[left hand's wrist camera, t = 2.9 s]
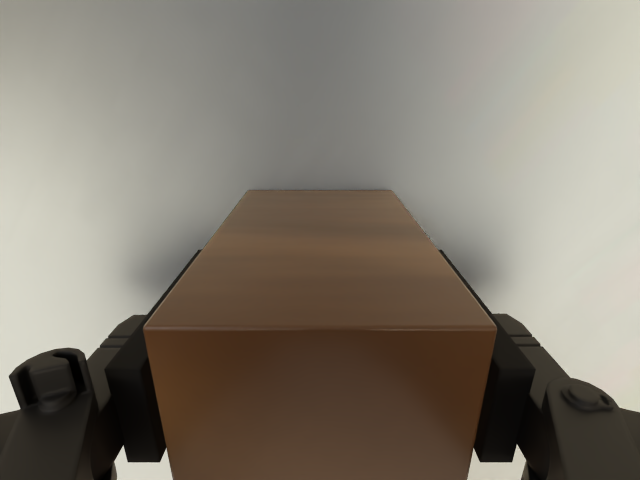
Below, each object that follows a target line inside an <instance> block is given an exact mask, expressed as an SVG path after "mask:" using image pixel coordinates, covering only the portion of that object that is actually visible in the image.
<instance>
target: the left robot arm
mask: <svg viewBox="0 0 640 480" xmlns="http://www.w3.org/2000/svg"><path fill="white" fill-rule="evenodd" d="M201 251H202V250H198V251H197V253H196V254H195V255H194V256H193V258H192V259H191V260H190V261H189V263H188V264H187V265H186V266H185V268H184V269H183V270H182V272H181V273H180V274H179V275H178V277H177V278H176V279H175V280H174V282H173V283H172V284H171V285H170V287H169V288H168V289H167V290H166V292H165V293H164V294H163V295H162V297H161V298H160V299H159V301H158V302H157V303H156V304H155V306H154V307H153V308H152V309H151V311H150V312H149V313H148V314H147V315H133V316H131V317H130V318H128V319H127V320H125V321H124V322H122V323H120V324H119V325H118V326H117V327H116V328H115V329H114V330H113V331H112V333H111V334H110V335H109V336H108V338H106V339H105V340H104V342H103V343H102V344H101V345H100V348H97V349H96V351H95V352H94V353H93V354H92V355H91V356H90V357H89V359H88V360H87V361H86V358H85V354H84V353H83V352H82V351H80V350H79V349H74V348H61V349H54V350H51V351H47V352H44V353H41V354H39V355H36V356H34V357H32V358H30V359H28V360H26V361H25V362H24V363H22V364H21V365H19V366H18V367H16V368H15V370H14V371H13V372H12V373H11V374H10V376H9V379H10V381H11V384H12V387H13V389H14V392H15V395H16V397H17V400H18V403H19V405H20V408H21V409H20V410H17V411H12V412H8V413H4V414H0V480H117V473H116V467H115V463H114V461H115V459H116V457H117V455H118V453H119V452H120V450H121V448H122V446H123V445H124V449H125V453H126V456H127V460H128V462H160V461H161V459H162V456H163V454H164V452H165V449H166V442H165V437H164V432H163V427H162V422H161V417H160V412H159V407H158V402H157V397H156V392H155V388H154V383H153V378H152V373H151V368H150V363H149V358H148V353H147V348H146V343H145V338H144V333H143V327H144V325H145V324H146V322H147V321H148V320H149V318H150V317H151V316H152V315H153V313H154V312H155V311H156V309H157V308H158V307H159V305H160V304H161V303H162V302H163V300H164V299H165V298H166V296H167V295H168V294H169V292H170V291H171V290H172V289H173V287H174V286H175V285H176V283H177V282H178V281H179V279H180V278H181V277H182V276H183V274H184V273H185V272H186V270H187V269H188V268H189V266H190V265H191V264H192V263H193V261H194V260H195V259H196V257H197V256H198V255H199V253H200V252H201ZM438 251H439V252H440V253H441V255H442V256H443V257H444V259H445V260H446V261H447V262H448V264H449V265H450V266H451V268H452V269H453V270H454V272H455V273H456V274H457V275H458V277H459V278H460V279H461V281H462V282H463V283H464V285H465V286H466V287H467V288H468V290H469V291H470V292H471V294H472V295H473V296H474V298H475V299H476V300H477V301H478V303H479V304H480V305H481V307H482V308H483V309H484V311H485V312H486V313H487V314H488V316H489V317H490V318H491V320H492V321H493V322H494V324H495V325H496V327H497V333H496V338H495V343H494V348H493V353H492V358H491V363H490V368H489V373H488V378H487V383H486V388H485V393H484V398H483V403H482V408H481V413H480V418H479V423H478V428H477V433H476V438H475V443H474V449H475V452H476V454H477V456H478V459H479V461H480V462H512V460H513V457H514V453H515V449H516V445H517V444H518V446H519V448H520V450H521V452H522V453H523V455H524V457H525V459H526V463H525V467H524V471H523V474H522V478H521V480H640V413H639V412H635V411H630V410H626V409H622V408H619V407H618V405H617V404H616V402H615V401H614V400H613V399H612V398H611V397H610V396H609V395H608V394H606V393H605V392H604V391H603V390H601V389H599V388H597V387H595V386H593V385H592V384H590V383H587V382H584V381H581V380H578V379H574V378H570V377H569V376H568V375H567V374H566V372H565V371H564V370H563V369H562V368H561V367H560V366H559V365H558V363H557V362H556V361H555V360H554V359H553V358H552V357H551V356H550V355H549V353H548V352H547V351H546V350H545V349H544V348H543V347H541V346H540V343H539V342H538V341H537V340H536V339H535V338H534V337H532V334H531V333H530V332H529V331H528V330H527V329H526V328H525V326H524V325H523V324H522V323H520V322H519V321H517V320H515V319H514V318H512V317H511V316H509V315H508V314H492V313H491V312H490V311H489V309H488V308H487V307H486V306H485V304H484V303H483V302H482V301H481V299H480V298H479V297H478V295H477V294H476V293H475V292H474V290H473V289H472V288H471V287H470V285H469V284H468V283H467V282H466V280H465V279H464V278H463V277H462V275H461V274H460V273H459V272H458V270H457V269H456V268H455V266H454V265H453V264H452V263H451V261H450V260H449V259H448V258H447V256H446V255H445V254H444V253H443V251H442V250H438Z"/></svg>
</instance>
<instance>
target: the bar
mask: <svg viewBox="0 0 640 480" xmlns="http://www.w3.org/2000/svg"><path fill="white" fill-rule="evenodd" d="M143 333H144V338H145V343H146V348H147V353H148V358H149V363H150V368H151V373H152V378H153V383H154V388H155V392H156V397H157V402H158V407H159V412H160V417H161V422H162V427H163V432H164V437H165V442H166V447H167V452H168V457H169V462H170V467H171V472H172V477H173V480H467V477H468V472H469V467H470V462H471V457H472V452H473V448H474V443H475V438H476V433H477V428H478V423H479V418H480V413H481V408H482V403H483V398H484V393H485V388H486V383H487V378H488V373H489V368H490V363H491V358H492V353H493V348H494V343H495V338H496V333H497V327H496V325H495V324H494V322H493V321H492V320H491V318H490V317H489V316H488V314H487V313H486V312H485V311H484V309H483V308H482V307H481V305H480V304H479V303H478V301H477V300H476V299H475V298H474V296H473V295H472V294H471V292H470V291H469V290H468V288H467V287H466V286H465V285H464V283H463V282H462V281H461V279H460V278H459V277H458V275H457V274H456V273H455V272H454V270H453V269H452V268H451V266H450V265H449V264H448V262H447V261H446V260H445V259H444V257H443V256H442V255H441V253H440V252H439V251H438V249H437V248H436V247H435V246H434V244H433V243H432V242H431V240H430V239H429V238H428V236H427V235H426V234H425V233H424V231H423V230H422V229H421V227H420V226H419V225H418V223H417V222H416V221H415V220H414V218H413V217H412V216H411V214H410V213H409V212H408V210H407V209H406V208H405V207H404V205H403V204H402V203H401V201H400V200H399V199H398V197H397V196H396V195H395V194H394V192H393V191H391V190H249V191H247V192H246V194H245V195H244V196H243V198H242V199H241V200H240V201H239V203H238V204H237V205H236V207H235V208H234V209H233V211H232V212H231V213H230V214H229V216H228V217H227V218H226V220H225V221H224V222H223V224H222V225H221V226H220V227H219V229H218V230H217V231H216V233H215V234H214V235H213V237H212V238H211V239H210V240H209V242H208V243H207V244H206V246H205V247H204V248H203V250H202V251H201V252H200V253H199V255H198V256H197V257H196V259H195V260H194V261H193V263H192V264H191V265H190V266H189V268H188V269H187V270H186V272H185V273H184V274H183V276H182V277H181V278H180V279H179V281H178V282H177V283H176V285H175V286H174V287H173V289H172V290H171V291H170V292H169V294H168V295H167V296H166V298H165V299H164V300H163V302H162V303H161V304H160V305H159V307H158V308H157V309H156V311H155V312H154V313H153V315H152V316H151V317H150V318H149V320H148V321H147V322H146V324H145V325H144V327H143Z"/></svg>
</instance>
